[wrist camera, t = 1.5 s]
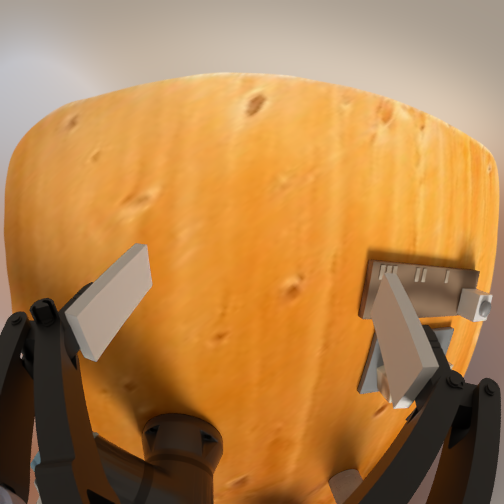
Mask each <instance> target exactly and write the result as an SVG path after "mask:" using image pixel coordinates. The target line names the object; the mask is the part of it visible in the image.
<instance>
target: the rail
mask: <svg viewBox="0 0 504 504" xmlns="http://www.w3.org/2000/svg"><path fill="white" fill-rule="evenodd" d="M479 272H480V271H476V270H469V269H459V268H449V267H439V266H429V265H419V264H408V263H398V262H388V261H377V260H369V262H368V268H367V274H366V280H365V285H364V291H363V296H362V301H361V306H360V311H359V315H358V316H359V317H360V318H362V319H372V317H371V313H370V312H371V310H372V307H373V304H374V301H375V298H376V295H377V293H378V290H379V287H380V283H381V280H382V277H383V274H384V273H393V274H397V276H398V278H399V280H400V282H401V284H402V286H403V288H404V290H405V291H406V293H407V295H408V297H409V299H410V301H411V304H412V306H413V308H414V310H415V312H416V314H417V316H418V318H423V317H441V316H456V315H458V314H456V313H457V310H458V306H459V302H460V298H461V293H462V289H476V287H477V283H478V278H479Z"/></svg>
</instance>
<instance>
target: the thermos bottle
mask: <svg viewBox="0 0 504 504" xmlns="http://www.w3.org/2000/svg"><path fill="white" fill-rule="evenodd" d="M362 482H363V480H362V478H361V476H360V474H359V472H358V471H357V470H355V469H350V470H345V471H343V472H340V473H338V474H336V475H335V476H333V477H332V478H331V479H330V481H329V486H330V488H331V491H332V493H333V496H334V498H335V501H336V503H337V504H342V503H343V502H344V501H345V500H346V499H347V498H348V497H349V496H350V495H351V494H352V493H353V492H354V491H355V490H356V488H357V487H358V486H359V485H360V484H361V483H362Z"/></svg>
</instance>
